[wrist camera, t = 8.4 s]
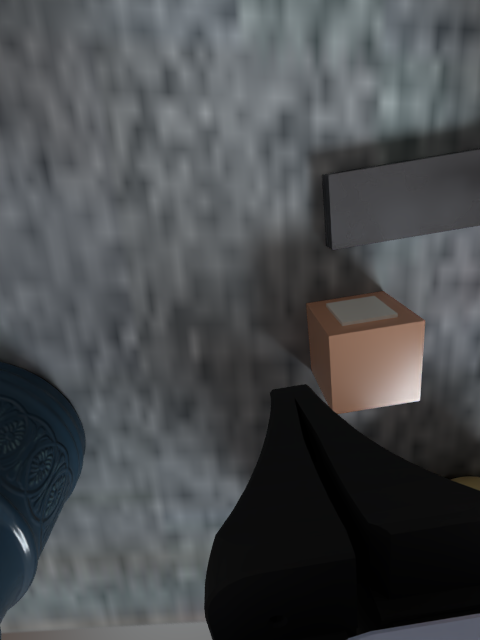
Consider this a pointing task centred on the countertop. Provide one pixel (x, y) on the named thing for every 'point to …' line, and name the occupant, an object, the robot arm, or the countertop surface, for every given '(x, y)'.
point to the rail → (402, 199)
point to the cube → (365, 351)
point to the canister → (32, 473)
